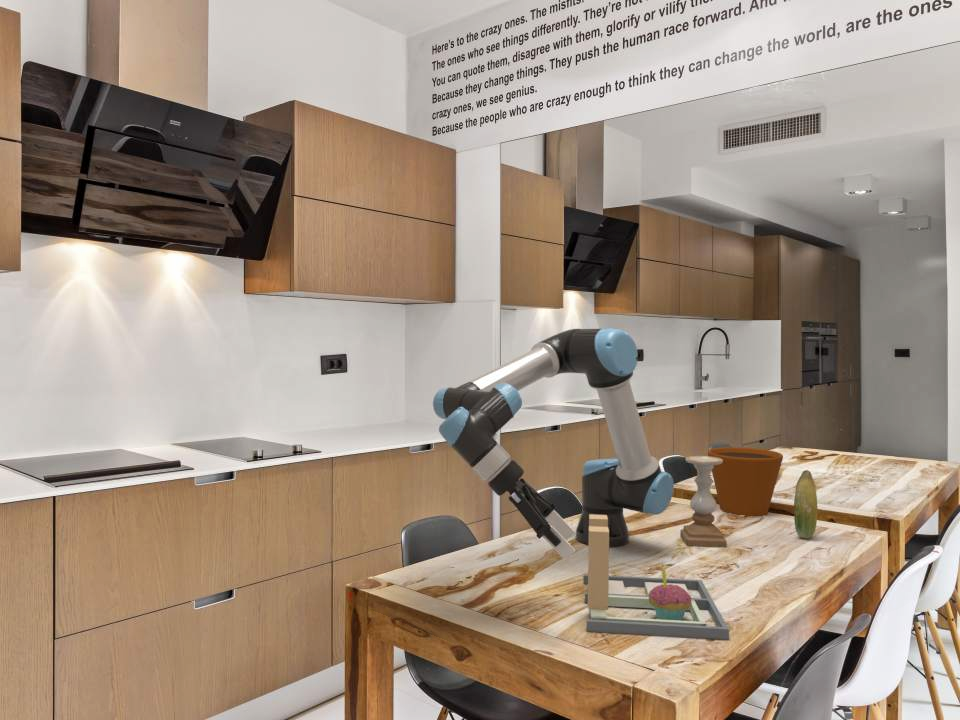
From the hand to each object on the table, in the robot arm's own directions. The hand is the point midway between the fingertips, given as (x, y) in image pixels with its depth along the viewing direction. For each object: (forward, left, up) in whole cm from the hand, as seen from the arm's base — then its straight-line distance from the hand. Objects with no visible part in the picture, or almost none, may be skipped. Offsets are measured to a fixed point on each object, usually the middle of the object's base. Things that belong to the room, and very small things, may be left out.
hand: (570, 545), depth 145 cm
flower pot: (+21, +114, -15) cm, 117 cm away
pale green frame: (+14, +6, -15) cm, 21 cm away
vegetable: (+41, +87, -15) cm, 97 cm away
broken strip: (+9, +19, -15) cm, 25 cm away
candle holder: (+15, +70, -15) cm, 73 cm away
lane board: (+13, +12, -15) cm, 23 cm away
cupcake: (+19, +8, -15) cm, 25 cm away
